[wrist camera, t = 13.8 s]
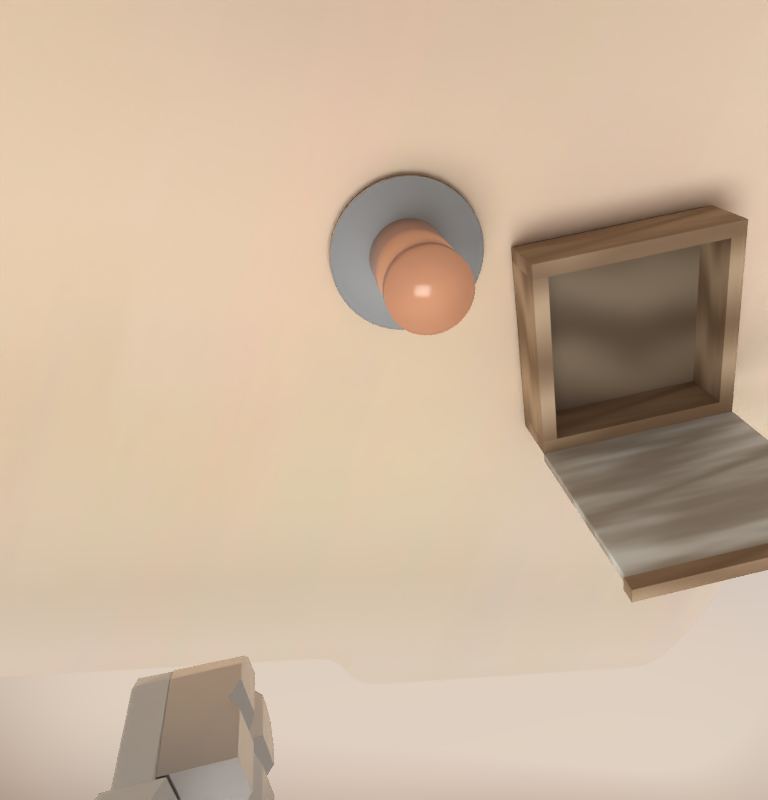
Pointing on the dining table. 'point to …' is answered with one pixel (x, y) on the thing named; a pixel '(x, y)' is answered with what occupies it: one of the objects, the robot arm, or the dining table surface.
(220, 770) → the robot arm
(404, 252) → the orange cylinder
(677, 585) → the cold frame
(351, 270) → the grey flat disc
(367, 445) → the dining table surface
